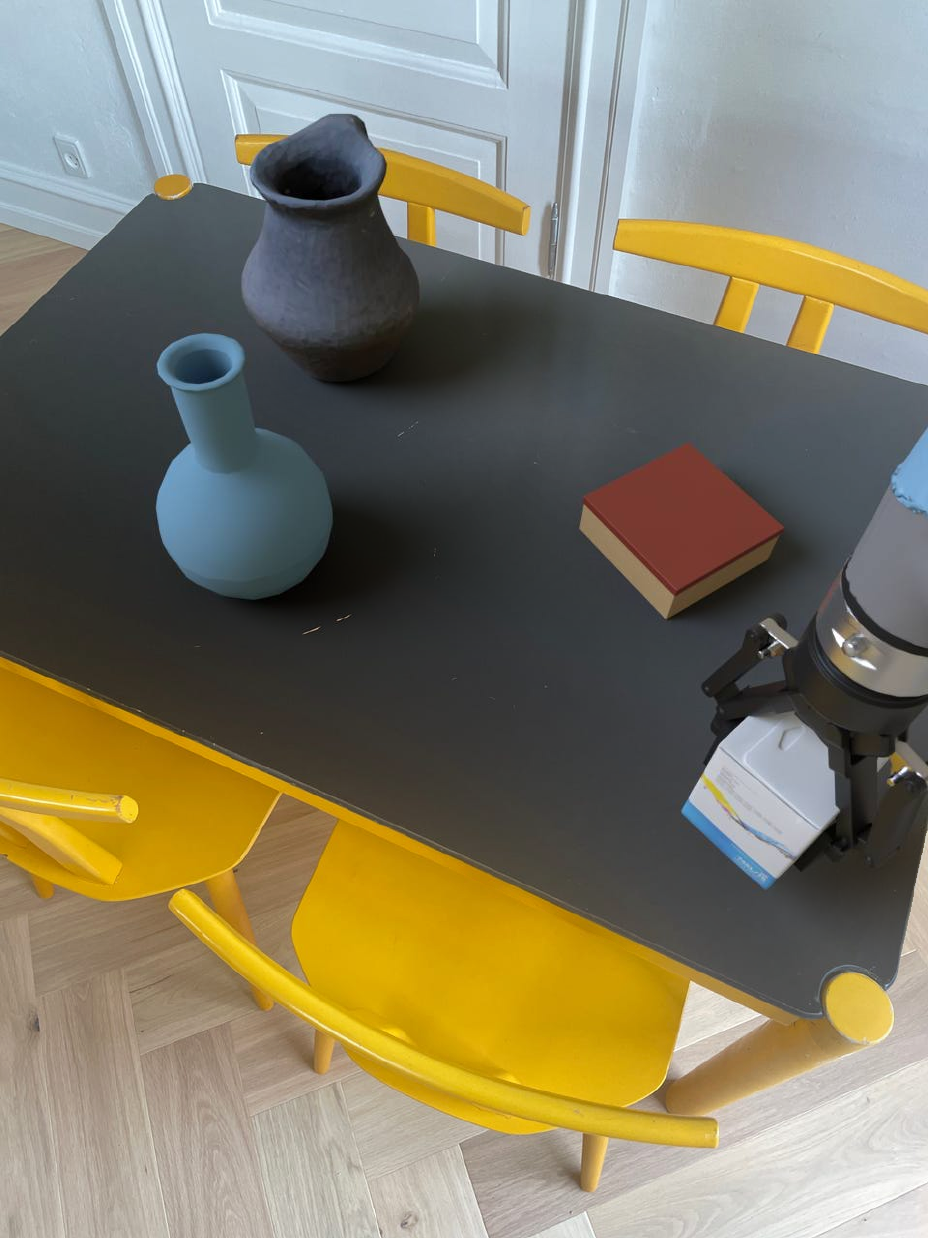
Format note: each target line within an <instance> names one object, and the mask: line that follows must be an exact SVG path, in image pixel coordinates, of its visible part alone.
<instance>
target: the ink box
mask: <svg viewBox="0 0 928 1238" xmlns="http://www.w3.org/2000/svg"><path fill="white" fill-rule="evenodd" d="M794 713H795V711H791V712H786V713H780V714H775V712H769V713H764V714H758V715H752V716H748V717H747V718H746V719H745V720H744V721H743V722H742V723H741V724H740V725H739V726H737V727H736V728H735V729H734V730H733V731H732V732H731V733H730V734H729V735H728V736H727V737H726V738H725V739H724V740H723V741H722V742H721V743H720V744H719V745H718V747H717V749H716V751H715V753H714V755H713V756H712V758H711V760H710V761H709V763H708V765H707V767H706V766H705V768H704V771H703V772H702V774H701V776H700V777H699V778H698V781H697V783H696V784H695V786H694V788H693V790H692V791H691V794H690V795H689V796H688V799H686V801H685V803H684V805H683V807H682V809H681V814H682V815H683V816H684V817H685V818H686V819H687V820H688V821H689V822H690V823H691V824H693V825H694V826H695V828H697V829H698V830H699V831H700V832H701V833H702V834H703V835H704V836H705V837H706V838H707V839H708V840H709V841H710V842H711V843H713V844H714V846H716V847H717V848H718V849H719V850H720V852H722V854H724V855H725V856H726V857H727V858H729V859H730V860H731V861H732V862H733V863H734V864H735V865H736V866H737V867H738V868H740V870H741V871H743V872H744V873H745V874H746V875H748V876H749V877H750V878H751V879H752V880H753V881H755V882H756V883H757V884H758V885H759V886H760V887H761V888H762V889H764V890H768V889H769V888H771V886H772V885H773V884H774V883H775V882H776V881H777V880H779V878H781V876H783V874H784V873H785V872H787V870H788V869H789V868H790V867H791V866H792V865H794V863H795V862H796V861H797V860H798V858H799V857H800V856H801V855H802V854H803V853H804V852H805V851H806V850H807V849H808V848H809V847H810V846H811V844H812V843H813V842H814V841H815V840H816V839H817V838H818V837H819V836H820V835H821V834H822V833H823V832H824V831H825V830H826V829H827V828H829V827H830V826H831V825H832V824H833V823H834V821H836V816H837V815H838V814H839V812H840V810H839V808H838V807H837V806H836V805H835V773H834V771H833V770H831V769H830V768H829V764H828V747H827V746H826V745H825V744H824V743H823V742H822V741H821V740H820V739H819V738H818V736H817V735H816V734H815V732H814V731H813V730H812V729H811V728H809V727H808V726H807V725H805V724H804V723H803V722H802V721H801V720H800V719H799V718H798V717H797V716H796V715H795V714H794ZM888 761H890V759H889V758H888V757H885V758H880V757H878V759H877V773H878V772H879V771H880V770H881V769H882V768H883V767H884V765H885V764H886V763H887V762H888Z"/></svg>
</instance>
